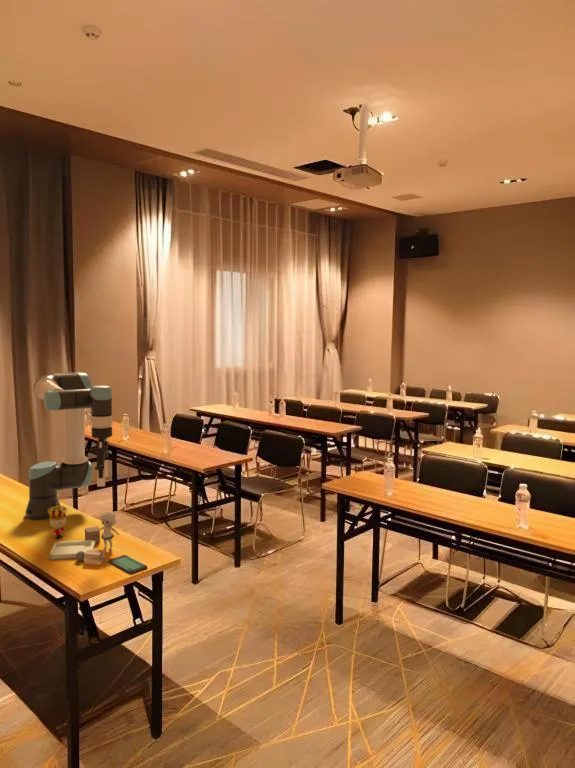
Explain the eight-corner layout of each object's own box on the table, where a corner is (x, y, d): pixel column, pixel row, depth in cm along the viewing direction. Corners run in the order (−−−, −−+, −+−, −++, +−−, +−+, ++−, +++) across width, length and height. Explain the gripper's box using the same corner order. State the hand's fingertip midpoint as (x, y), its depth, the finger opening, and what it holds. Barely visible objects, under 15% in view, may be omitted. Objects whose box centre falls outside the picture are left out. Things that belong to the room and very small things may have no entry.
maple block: (89, 559, 213) (89, 549, 212) (104, 560, 212) (104, 550, 212) (84, 563, 209) (83, 553, 208) (99, 565, 208) (99, 554, 208)
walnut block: (85, 539, 231) (84, 527, 231) (97, 537, 233) (97, 526, 233) (86, 544, 227) (86, 532, 226) (100, 542, 229) (99, 530, 228)
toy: (60, 541, 229) (60, 505, 227) (44, 539, 230) (43, 503, 228) (71, 535, 236) (70, 499, 234) (55, 533, 237) (54, 498, 235)
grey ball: (76, 558, 212) (76, 549, 212) (86, 558, 213) (86, 549, 213) (75, 562, 209) (75, 553, 209) (85, 562, 210) (85, 552, 209)
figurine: (92, 549, 222) (91, 511, 220) (102, 543, 227) (102, 506, 226) (114, 553, 218) (114, 515, 217) (124, 547, 224) (124, 510, 222)
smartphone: (124, 554, 216) (147, 565, 206) (124, 557, 216) (147, 569, 206) (107, 559, 210) (130, 572, 200) (107, 563, 210) (130, 575, 200)
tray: (55, 546, 224) (55, 541, 224) (95, 543, 227) (95, 539, 227) (49, 559, 211) (48, 555, 211) (91, 557, 214) (91, 552, 214)
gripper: (94, 421, 228) (95, 473, 230) (87, 433, 204) (88, 490, 206) (114, 420, 230) (115, 472, 232) (109, 432, 205) (110, 489, 208)
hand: (102, 481), depth 219 cm, fingers open, 13 cm apart
